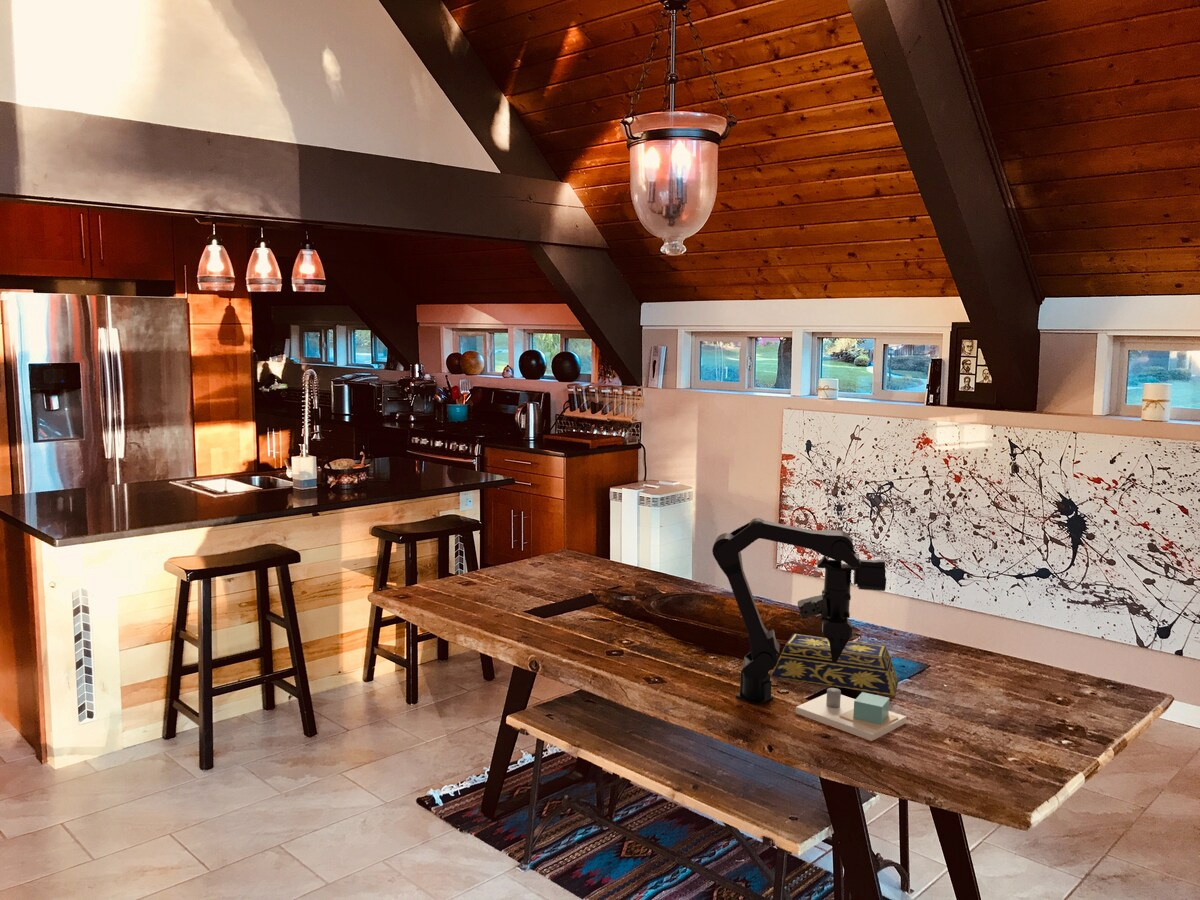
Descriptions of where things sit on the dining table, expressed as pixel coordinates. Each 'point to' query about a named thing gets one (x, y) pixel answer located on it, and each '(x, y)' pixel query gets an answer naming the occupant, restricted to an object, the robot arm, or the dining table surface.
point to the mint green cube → (871, 708)
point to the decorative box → (837, 665)
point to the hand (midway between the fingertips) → (833, 654)
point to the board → (846, 715)
